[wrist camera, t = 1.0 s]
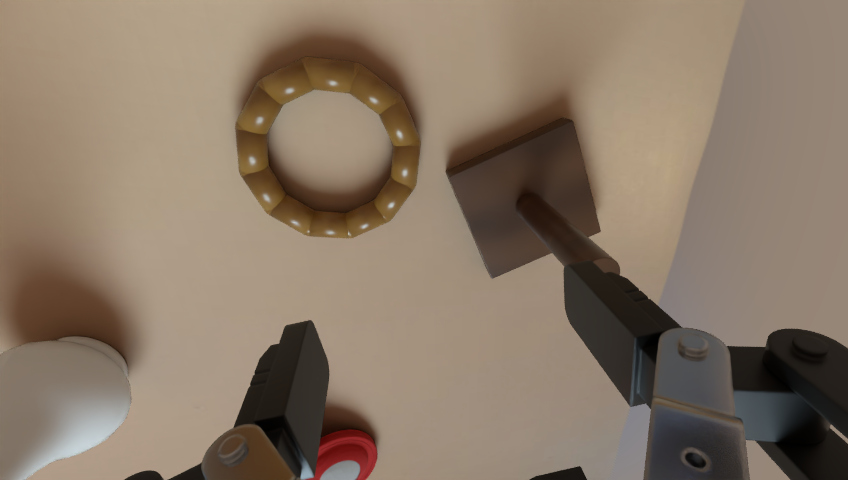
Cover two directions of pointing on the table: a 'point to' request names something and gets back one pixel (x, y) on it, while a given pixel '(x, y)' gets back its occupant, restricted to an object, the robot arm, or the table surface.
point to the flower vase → (58, 401)
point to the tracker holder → (345, 456)
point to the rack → (531, 201)
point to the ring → (337, 79)
